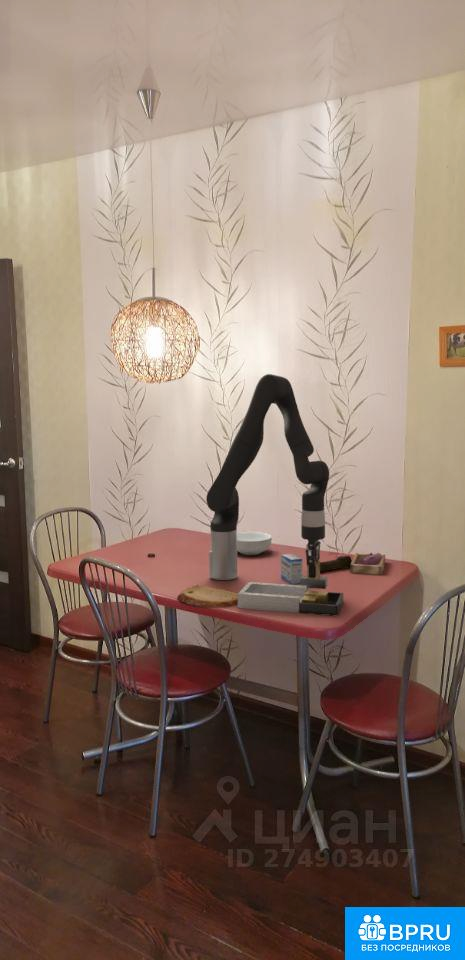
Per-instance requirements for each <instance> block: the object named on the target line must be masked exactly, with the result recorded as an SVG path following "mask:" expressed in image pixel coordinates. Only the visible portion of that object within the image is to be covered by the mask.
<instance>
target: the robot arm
mask: <svg viewBox="0 0 465 960" xmlns="http://www.w3.org/2000/svg"><path fill="white" fill-rule="evenodd" d="M294 393H295V392H294V389H293V386H292V384H291V382H290V380H289V379H288V378H286V377H283V376H280V375H278V374H277V375H275V374H271V373H267V374H263V376H261V377H260V378H259V380H258V381H257V384H256V386H255V388H254V391H253V394H252V397H251V400H250V403H249V406H248V407H247V410H246V413H245V415H244V417H243V419H242V422H241V425H240V427H239V429H238V431H237V432H236V435H235V437H234V439H233V442H231V445H230V449H229V451H228V452H227V455H226V457H225V459H224V462H223V464H222V466H221V469H220V471H219V472H218V474H217V476H216V478H215V480H214V482H213V483H212V484H211V486H210V487H209V489H208V492H207V494H206V499H205V500H206V505H207V506H208V508H209V510H210V511H212V512H214V515H213V517H212V520H211V521H210V526H209V527H210V551H208V558H209V559H208V560H209V561H208V563H209V565H208V566H209V579H212V580H217V581H230V580H235V579H237V578H238V551H237V533H238V530H237V529H238V528H237V526H238V522H239V515H240V514H239V510H240V498H239V492H238V489H237V488H236V487H237V484H238V482H239V481H240V480H241V478H242V476H243V475H244V474H245V473H246V472H247V470H248V469H249V468H250V467H251V466H252V464H253V462H254V461H255V459H256V458H257V456H258V454H259V452H260V449H261V447H262V445H263V442H264V435H265V434H264V430H265V429H264V426H265V425H264V424H265V418H266V416H267V413H268V411H269V409H270V407H271V405H272V404H275V405H276V406H277V408H278V410H279V411H280V413H281V415H282V418H283V419H282V420H283V425H284V426H283V430H284V437H285V440H286V443H287V445H288V448H289V450H290V451H291V454H292V458H293V464H294V471H295V472H294V473H295V474H296V478H297V480H298V481H299V482H300V483H302V484H304V485H310V487H309V489H308V490H306V491H304V492H303V493H302V495H301V516H300V517H301V521H300V523H301V527H300V528H301V533H300V534H301V538H302V539H303V540H306V541H307V544H306V546H305V557H306V567H307V566H309V578H315V577H316V561H320V555H321V544H322V543H321V541H322V540H323V539H325V538H326V515H325V495H326V492H327V487H328V483H329V480H330V479H329V478H330V469H329V466H328V463H326V462H325V461H323V460H313V461H310V460H309V457H311V456H312V455H313V454H314V452H315V448H314V445H313V443H312V441H311V438H310V436H309V434H308V432H307V430H306V428H305V426H304V425H305V424H303V423H304V422H303V420H302V418H301V415H300V411H299V407H298V404H297V400H296V397H295V394H294ZM310 561H313V562H310Z"/></svg>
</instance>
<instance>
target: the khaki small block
mask: <svg viewBox="0 0 465 960" xmlns="http://www.w3.org/2000/svg"><path fill="white" fill-rule="evenodd" d="M318 591H319V590H309V589H307V592H306V593H305V596H316V594H317V593H318Z"/></svg>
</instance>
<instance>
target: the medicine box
mask: <svg viewBox="0 0 465 960" xmlns="http://www.w3.org/2000/svg"><path fill="white" fill-rule="evenodd" d="M302 575H303V559H302V558H301V557H299V556H297V555H294V554H293V553H284V554H281V555H280V579H281V580H282V581H285V582H286V583H289V585H298V584H300V578H301V576H302Z"/></svg>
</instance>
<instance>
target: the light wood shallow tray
mask: <svg viewBox="0 0 465 960" xmlns="http://www.w3.org/2000/svg"><path fill="white" fill-rule="evenodd" d="M369 554H370V553H355V555H354V556H353V558H352V562H351V565H350V567H349V568H350V569H349V570H350V574H363V575H365V574H366V575H379V576H380V575H383V571H384V569H385V565H386V554H381V555H382V556H378V557H383V558H381V561H380V562H379V563H378V565H379V566H376V565H362V564H360V565H359V561H358V560H361V559H365V558H366V557H367V556H368V555H369ZM374 554H375V553H372V555H374ZM374 558H377V557H372V558H371V559H374ZM356 563H358V564H356Z"/></svg>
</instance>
